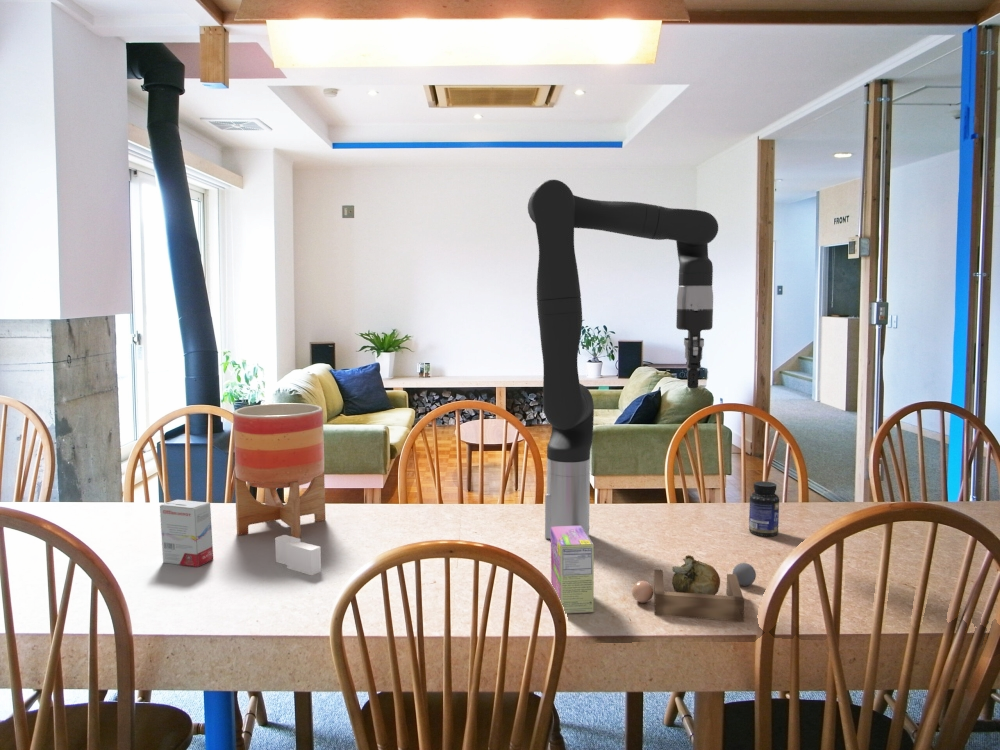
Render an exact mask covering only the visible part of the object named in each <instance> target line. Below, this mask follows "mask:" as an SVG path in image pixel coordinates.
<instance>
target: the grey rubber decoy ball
mask: <svg viewBox="0 0 1000 750" xmlns="http://www.w3.org/2000/svg"><path fill="white" fill-rule="evenodd" d="M756 573H757V572H756V569H755V568H754V567H753V566H752V564H749V563H747V562H741V563H737V564H736V565H735V566H734V568H733V570H732V574H736V576H737V579H738V583H739V586H744V587H747V586H750V585H752V584H753V583H754V582H755V580H756V577H757V574H756Z"/></svg>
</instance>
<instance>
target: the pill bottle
mask: <svg viewBox="0 0 1000 750" xmlns="http://www.w3.org/2000/svg"><path fill="white" fill-rule="evenodd" d="M753 489H754V492H752V493H751V494H750V495H749V511H748V512H749V513H748V515H749V516H748V518H749V519H748V530H749V532H750V533H751V534H753V535H755V536H760V537H770V538H771V537H776V536H777V535H778V534H779V521H780V520H779V518H780V517H779V516H780V497H779V496H778V494H776V491H777V484H776V483H775V482H772V481H765V480H763V481H761V480H760V481H755V482H753Z"/></svg>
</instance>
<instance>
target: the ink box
mask: <svg viewBox="0 0 1000 750" xmlns="http://www.w3.org/2000/svg"><path fill="white" fill-rule="evenodd" d="M211 511H212V510H211V502H205V501H195V500H188V499H187V500H186V499H175V500H170V501H168V502H165V503H162V504H160V505H159V514H160V515H159V517H160V530H161V531H160V533H161V547H162V548H161V549H162V562H163V563H164V564H169V565H170V564H172V565H178V566H179V565H181V566H186V567H187V566H188V567H194V568H198V567H201V566H203V565H205V564H207V563H209V562H211V561H212V560H214V547H213V545H214V544H213V532H212V531H213V530H212V526H213V525H212V513H211Z"/></svg>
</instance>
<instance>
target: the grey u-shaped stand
mask: <svg viewBox="0 0 1000 750" xmlns="http://www.w3.org/2000/svg"><path fill="white" fill-rule="evenodd" d="M653 573H654V574H653V602H654V603H653V604H654V605H653V606H654V615H655V616H664V617H665V616H667V617H680V618H691V619H692V618H693V619H704V620H718V621H719V620H722V621H732V622H744V620H745V619H744V618H745V617H744V616H745V615H744V613H745V599H744V596H743V593H742V590H741V585H740V584H739V583H738V579H737V576H736V574H733V573H732V574H731V573H727V574H726V591H725V592H726V593H725V594H726V595H723V594H722V595H721V594H719V595H718V594H715V595H709V594H694V593H680V592H675V591H665V581H664V580H665V579H664V570H663V569H657V568H654V569H653Z"/></svg>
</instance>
